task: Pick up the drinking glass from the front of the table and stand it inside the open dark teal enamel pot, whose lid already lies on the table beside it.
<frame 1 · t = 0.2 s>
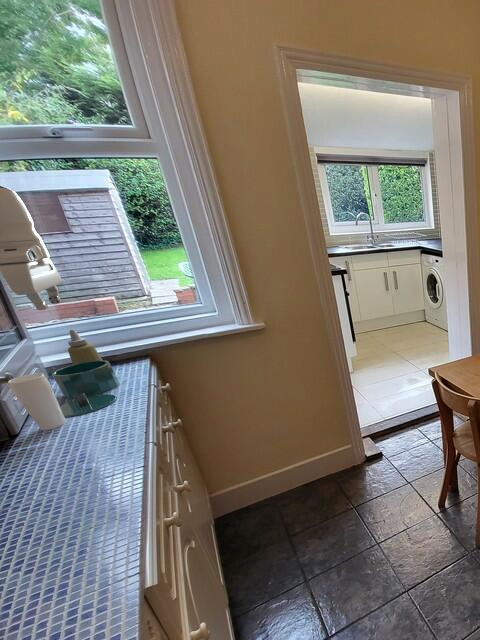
hand: (50, 306, 111), 31 cm above the worktop, tool pointing down, fingers open, 8 cm apart
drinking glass: (54, 427, 114), on the worktop
squeeze bottle: (96, 378, 148), on the worktop
pot: (93, 391, 136), on the worktop
lid: (85, 406, 124), point 1 cm above the worktop
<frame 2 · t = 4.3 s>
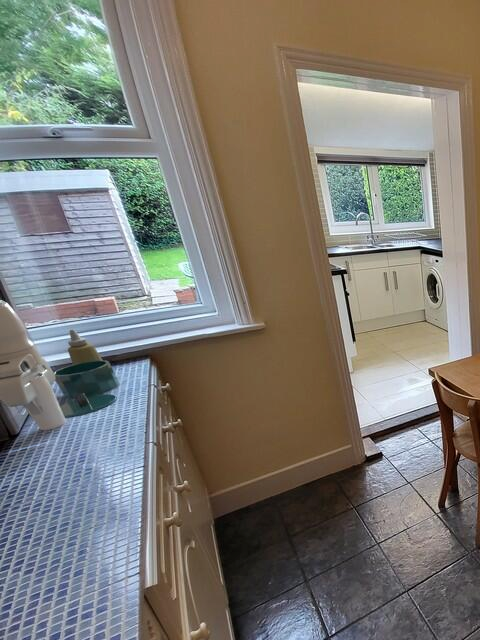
hand: (43, 408, 112), 6 cm above the worktop, tool pointing down, fingers closed on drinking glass, 6 cm apart
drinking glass: (55, 427, 114), on the worktop, touching gripper
everything else where it was.
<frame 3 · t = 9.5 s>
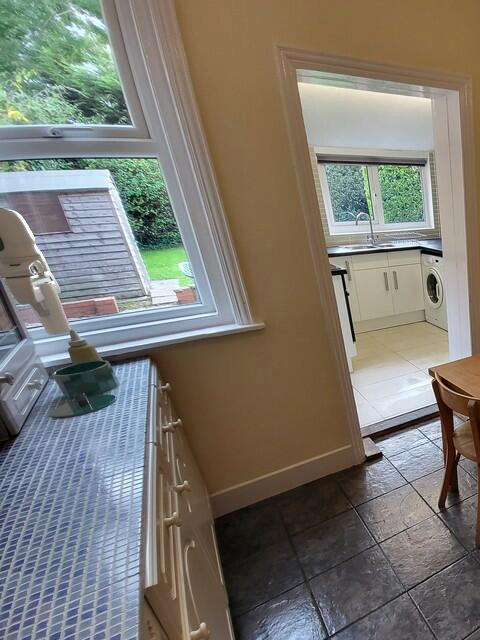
hand: (50, 313, 124), 27 cm above the worktop, tool pointing down, fingers closed on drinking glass, 6 cm apart
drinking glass: (60, 333, 127), point 21 cm above the worktop, touching gripper
everything else where it was.
when the fingers open (6 cm above the worktop, at t = 14.6 s): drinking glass stays where it is, resting on pot.
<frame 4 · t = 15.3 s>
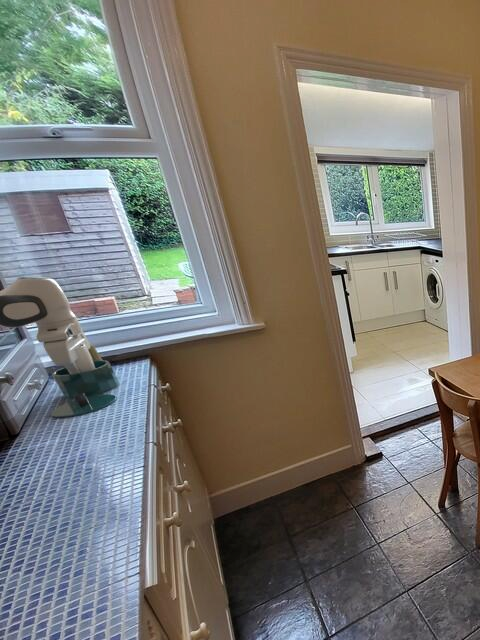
hand: (82, 370, 133), 8 cm above the worktop, tool pointing down, fingers open, 8 cm apart
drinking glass: (93, 390, 136), resting on pot
everything else where it was.
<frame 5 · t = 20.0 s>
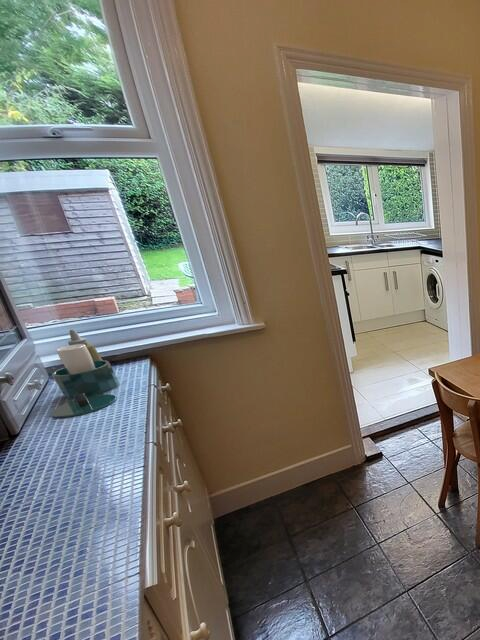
nothing on the worktop moved.
at the end: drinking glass 0.1 cm off-centre in the pot, point 0.3 cm above the pot's base; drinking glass tilted 0° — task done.
